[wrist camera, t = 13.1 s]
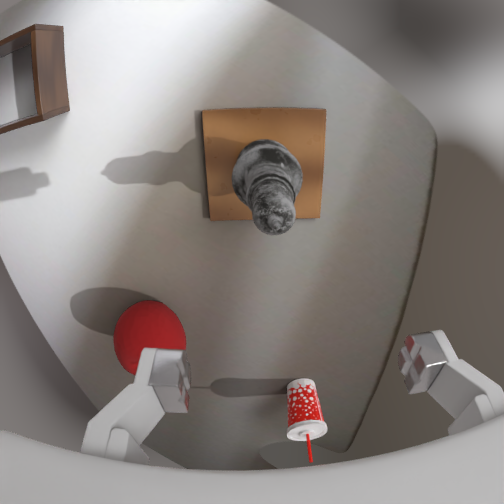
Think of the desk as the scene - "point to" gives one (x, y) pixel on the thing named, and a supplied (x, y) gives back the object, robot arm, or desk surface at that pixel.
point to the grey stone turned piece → (268, 184)
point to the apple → (146, 332)
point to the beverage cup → (304, 412)
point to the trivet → (255, 128)
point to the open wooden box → (42, 71)
